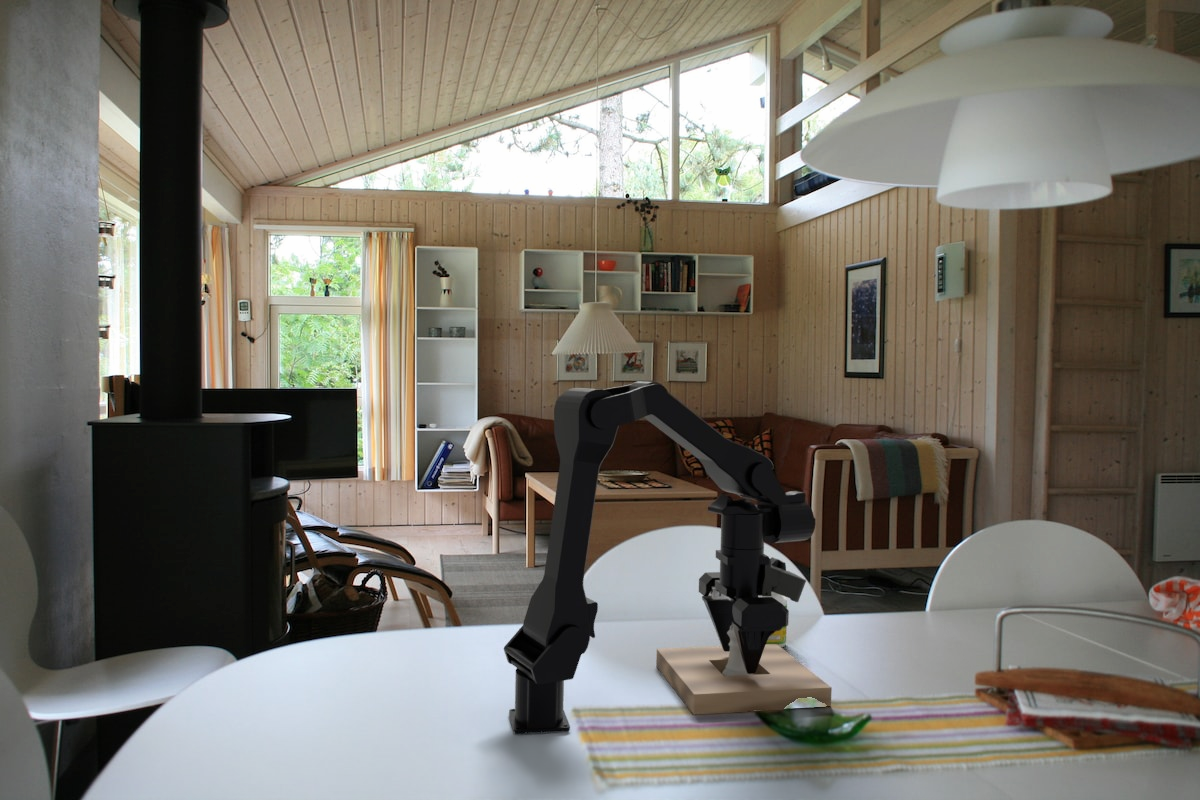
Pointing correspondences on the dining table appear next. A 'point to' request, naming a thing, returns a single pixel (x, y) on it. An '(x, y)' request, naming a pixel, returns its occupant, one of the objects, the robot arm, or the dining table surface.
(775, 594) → the supplement bottle
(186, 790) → the dining table surface
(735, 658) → the rook chess piece
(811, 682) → the socket block
